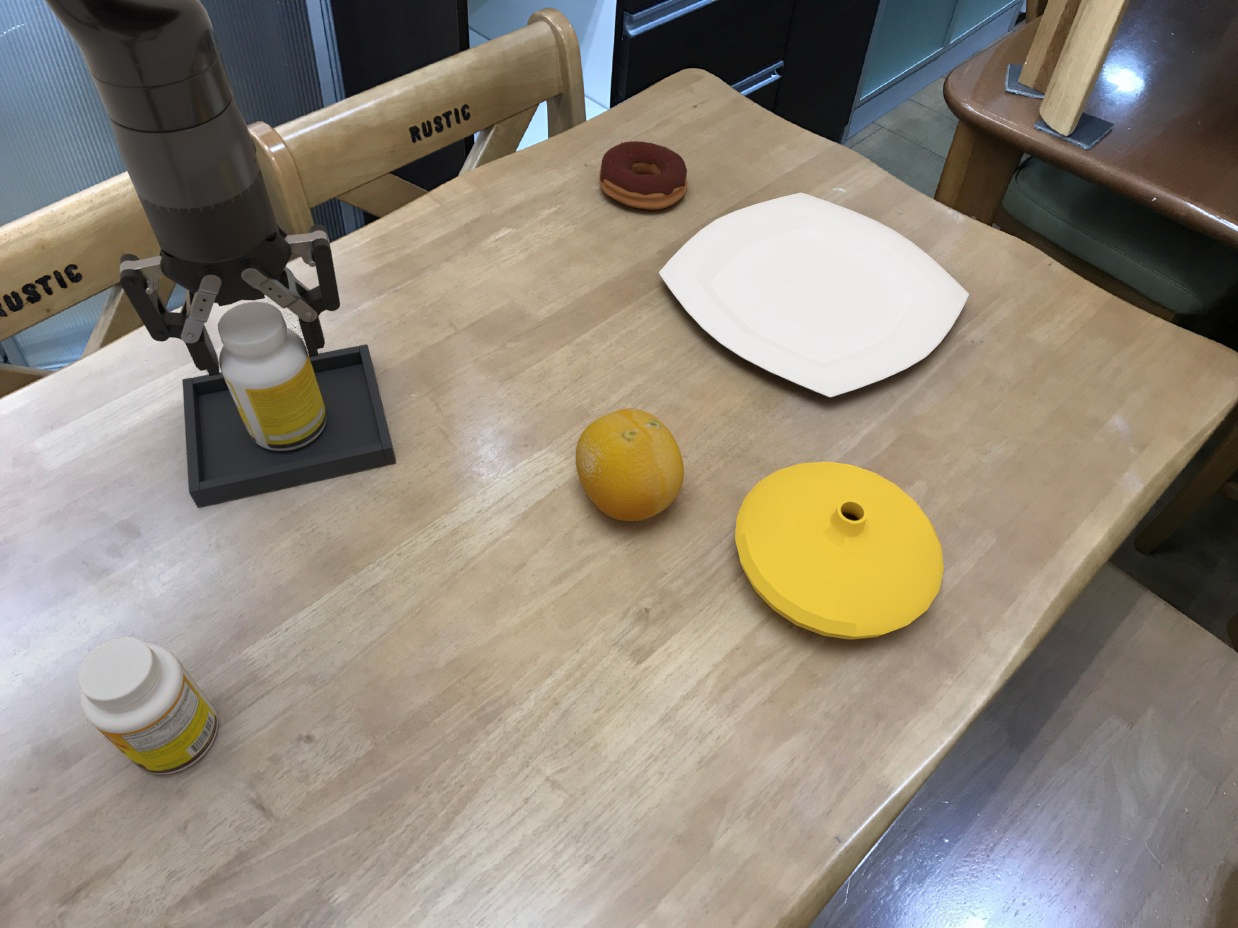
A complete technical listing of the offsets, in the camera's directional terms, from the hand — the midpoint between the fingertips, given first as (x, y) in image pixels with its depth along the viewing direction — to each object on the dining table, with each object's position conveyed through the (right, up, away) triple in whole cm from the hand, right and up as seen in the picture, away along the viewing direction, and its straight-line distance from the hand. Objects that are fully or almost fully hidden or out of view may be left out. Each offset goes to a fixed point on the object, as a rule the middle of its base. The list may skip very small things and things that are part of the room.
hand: (264, 358), depth 69 cm
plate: (+47, +8, +21) cm, 52 cm away
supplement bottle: (-2, -26, -10) cm, 28 cm away
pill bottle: (0, -5, +6) cm, 8 cm away
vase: (+44, -16, +1) cm, 47 cm away
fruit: (+28, -11, +4) cm, 30 cm away
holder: (0, -5, +7) cm, 8 cm away
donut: (+30, +23, +31) cm, 49 cm away
